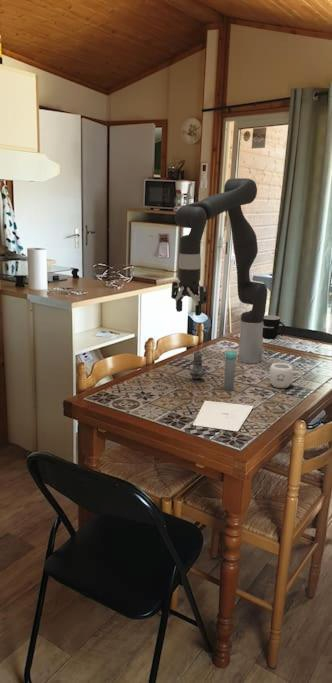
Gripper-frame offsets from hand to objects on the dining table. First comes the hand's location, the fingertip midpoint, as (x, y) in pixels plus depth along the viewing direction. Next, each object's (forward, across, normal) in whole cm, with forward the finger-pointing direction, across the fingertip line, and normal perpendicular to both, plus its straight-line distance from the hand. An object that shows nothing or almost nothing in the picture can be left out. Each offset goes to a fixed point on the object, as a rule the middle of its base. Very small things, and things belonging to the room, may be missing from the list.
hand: (188, 313), depth 188 cm
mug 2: (+28, -25, -26) cm, 46 cm away
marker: (+27, -12, -9) cm, 31 cm away
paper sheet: (+28, -19, +14) cm, 37 cm away
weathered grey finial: (+28, +2, -8) cm, 29 cm away
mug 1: (+28, +16, -82) cm, 88 cm away
